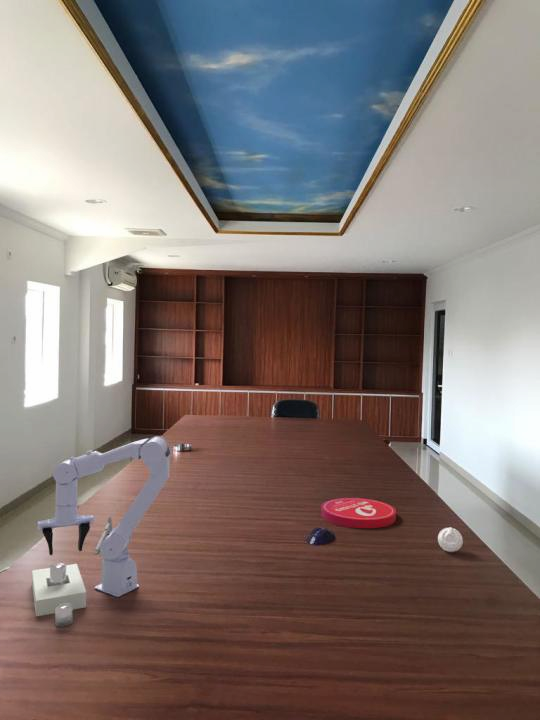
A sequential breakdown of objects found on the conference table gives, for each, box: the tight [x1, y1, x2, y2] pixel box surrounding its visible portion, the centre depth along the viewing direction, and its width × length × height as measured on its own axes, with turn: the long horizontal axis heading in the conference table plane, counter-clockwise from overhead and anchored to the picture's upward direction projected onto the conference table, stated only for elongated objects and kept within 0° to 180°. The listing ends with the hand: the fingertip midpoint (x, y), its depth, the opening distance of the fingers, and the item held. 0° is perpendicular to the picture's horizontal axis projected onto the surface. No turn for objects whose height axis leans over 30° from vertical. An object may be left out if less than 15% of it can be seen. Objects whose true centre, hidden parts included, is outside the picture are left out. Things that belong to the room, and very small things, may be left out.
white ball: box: [437, 527, 464, 553], centre depth 185 cm, size 8×8×8 cm
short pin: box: [54, 603, 74, 628], centre depth 133 cm, size 4×4×4 cm
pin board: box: [31, 563, 87, 617], centre depth 147 cm, size 20×12×4 cm, turn 26°
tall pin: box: [49, 562, 67, 586], centre depth 148 cm, size 4×4×8 cm
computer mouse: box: [306, 527, 335, 546], centre depth 195 cm, size 9×15×4 cm, turn 144°
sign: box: [320, 497, 397, 529], centre depth 222 cm, size 30×4×30 cm
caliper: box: [93, 516, 113, 555], centre depth 187 cm, size 20×1×6 cm, turn 3°
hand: (65, 551), depth 152 cm, fingers open, 7 cm apart
